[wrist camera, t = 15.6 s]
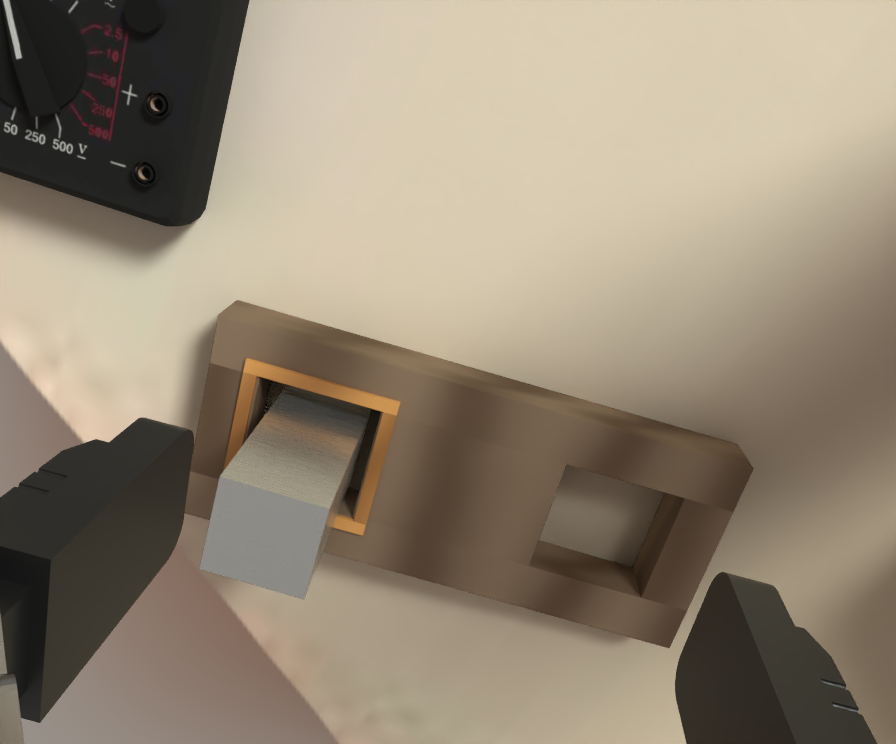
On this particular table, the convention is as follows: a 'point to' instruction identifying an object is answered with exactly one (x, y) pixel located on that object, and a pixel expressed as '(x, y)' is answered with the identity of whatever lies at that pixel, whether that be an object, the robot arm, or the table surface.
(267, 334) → the hole board
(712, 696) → the robot arm
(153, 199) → the multimeter
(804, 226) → the table surface
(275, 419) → the steel peg
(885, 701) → the table surface
